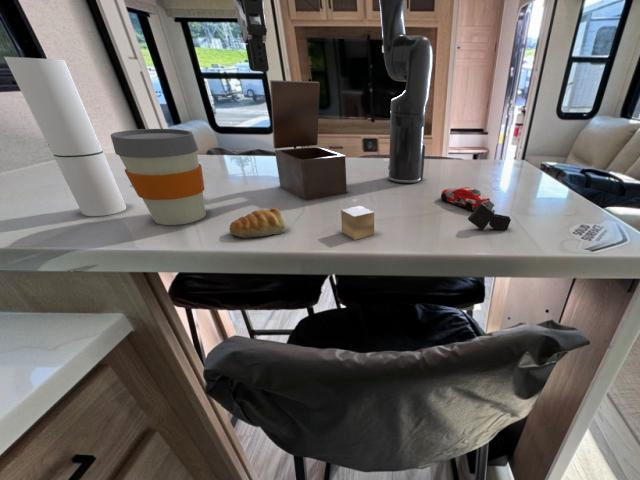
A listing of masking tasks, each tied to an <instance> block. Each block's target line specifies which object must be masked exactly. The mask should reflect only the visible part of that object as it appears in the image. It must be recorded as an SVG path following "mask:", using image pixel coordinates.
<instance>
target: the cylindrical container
mask: <svg viewBox="0 0 640 480" xmlns="http://www.w3.org/2000/svg"><path fill="white" fill-rule="evenodd" d="M3 58H4V60H5V62H6V64H7V66H8V68H9V70H10V72H11V74H12V76H13V78H14V80H15V82H16V84H17V86H18V88H19V90H20V92H21V94H22V96H23V98H24V100H25V102H26V104H27V107H28V108H29V110H30V112H31V114H32V116H33V118H34V120H35V122H36V124H37V126H38V128H39V130H40V132H41V134H42V136H43V138H44V140H45V142H46V144H47V146H48V148H49V150H50V152H51V155H52V156H53V158H54V160H55V163H56V164H57V166H58V168H59V170H60V172H61V174H62V176H63V178H64V180H65V182H66V183H67V186H68V188H69V190H70V193H71V194H72V196H73V197H74V198H73V199H74V200H75V202H76V204H77V206H78V208H79V210H80V212H81V214H82V215H83V216H87V217H103V216H110V215H114V214H115V215H116V214H118V213H121V212H123V211H125V210H127V205H126V203H125V200H124V198H123V196H122V193H121V191H120V189H119V186H118V183H117V181H116V179H115V177H114V174H113V172H112V170H111V166H110V164H109V162H108V160H107V158H106V155H105V153H104V150H103V148H102V145H101V143H100V140H99V139H98V136H97V134H96V131H95V129H94V127H93V124H92V122H91V120H90V119H91V118H90V117H89V115H88V112H87V110H86V108H85V105H84V102H83V99H81V95H80V93H79V90H78V88H77V86H76V83H75V80H74V79H73V76H72V74H71V71H70V70H69V67H68V64H67V62H66V60H65V59H57V58H56V59H55V58H36V57H15V56H4V57H3Z"/></svg>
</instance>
